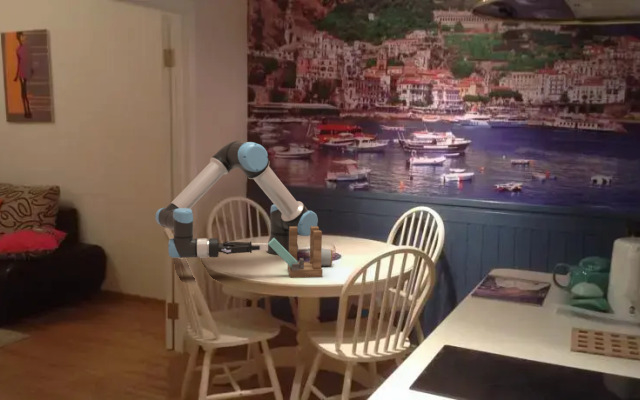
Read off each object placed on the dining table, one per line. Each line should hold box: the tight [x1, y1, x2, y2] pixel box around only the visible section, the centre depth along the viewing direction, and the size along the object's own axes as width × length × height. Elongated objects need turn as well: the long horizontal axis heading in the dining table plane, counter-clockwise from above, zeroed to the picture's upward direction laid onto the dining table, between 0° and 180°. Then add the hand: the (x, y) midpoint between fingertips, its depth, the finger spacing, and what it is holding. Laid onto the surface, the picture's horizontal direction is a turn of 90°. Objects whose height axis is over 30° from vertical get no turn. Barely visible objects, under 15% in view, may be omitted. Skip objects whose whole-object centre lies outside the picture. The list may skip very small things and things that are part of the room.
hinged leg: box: [267, 238, 299, 268], centre depth 251 cm, size 3×3×15 cm
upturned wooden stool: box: [287, 225, 323, 279], centre depth 256 cm, size 14×13×18 cm
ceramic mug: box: [321, 248, 333, 267], centre depth 272 cm, size 11×8×8 cm
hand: (267, 247), depth 250 cm, fingers closed
